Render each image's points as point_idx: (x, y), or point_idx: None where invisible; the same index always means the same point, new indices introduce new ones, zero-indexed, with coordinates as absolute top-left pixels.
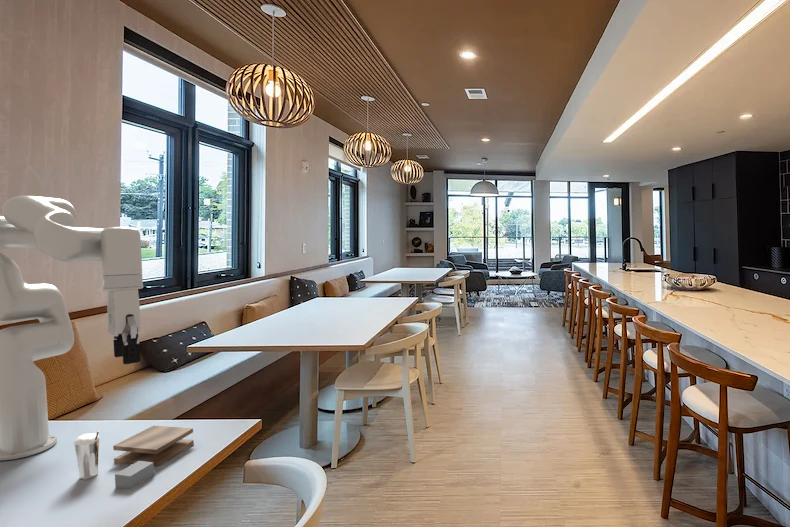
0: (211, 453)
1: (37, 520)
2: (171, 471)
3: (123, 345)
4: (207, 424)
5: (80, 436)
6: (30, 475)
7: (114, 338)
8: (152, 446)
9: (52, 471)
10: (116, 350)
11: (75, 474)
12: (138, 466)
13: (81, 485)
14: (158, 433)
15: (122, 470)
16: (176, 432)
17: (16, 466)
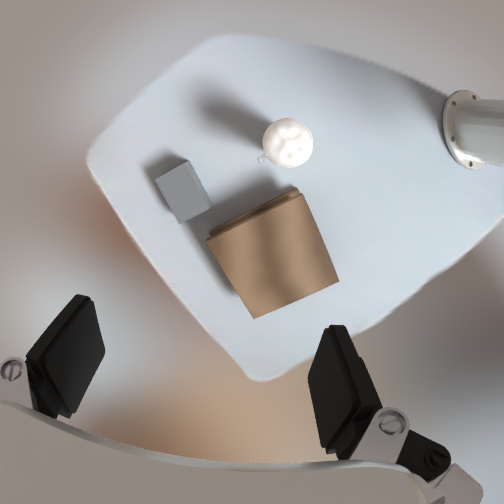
0: (191, 302)
1: (178, 61)
2: (175, 240)
3: (325, 402)
4: (314, 342)
5: (297, 132)
6: (367, 87)
7: (394, 412)
8: (228, 243)
9: (354, 111)
10: (333, 357)
11: None
12: (182, 200)
13: (247, 123)
14: (287, 273)
15: (189, 176)
16: (260, 295)
17: (420, 92)
